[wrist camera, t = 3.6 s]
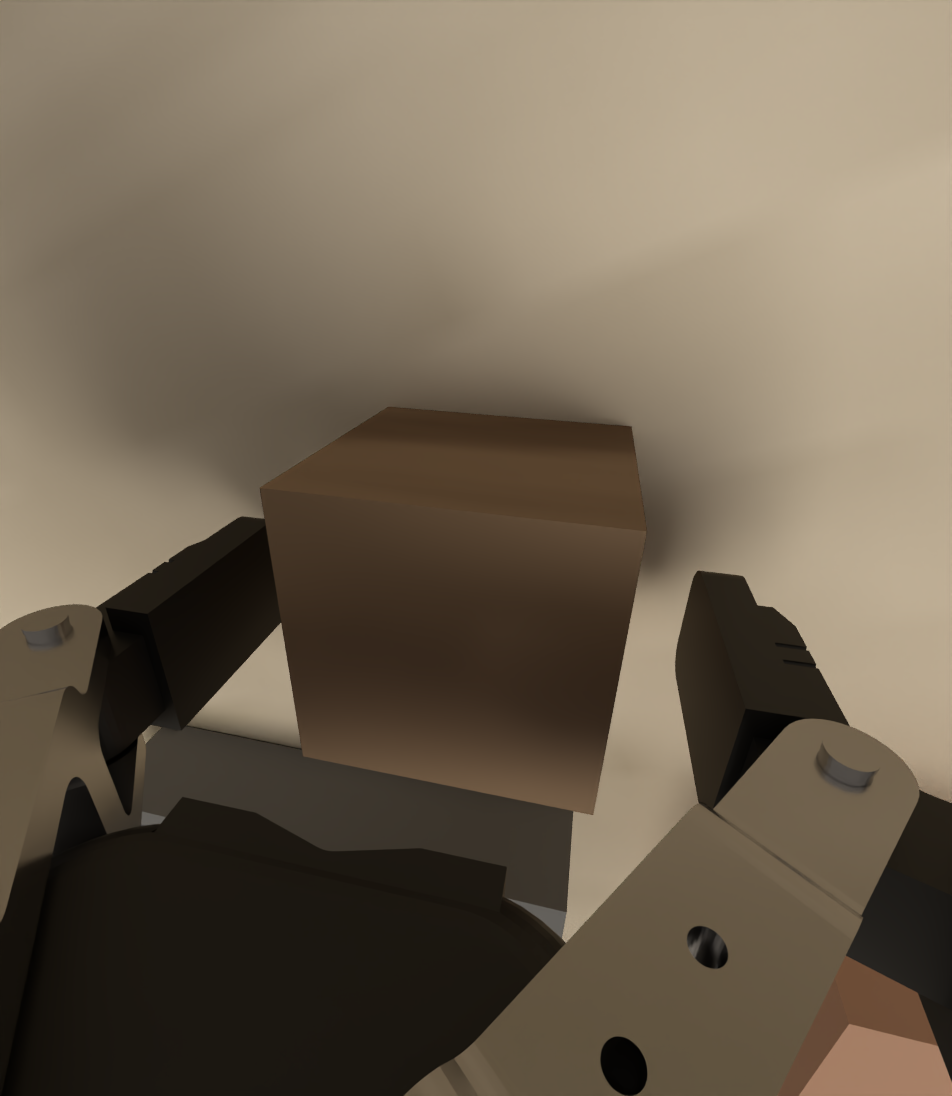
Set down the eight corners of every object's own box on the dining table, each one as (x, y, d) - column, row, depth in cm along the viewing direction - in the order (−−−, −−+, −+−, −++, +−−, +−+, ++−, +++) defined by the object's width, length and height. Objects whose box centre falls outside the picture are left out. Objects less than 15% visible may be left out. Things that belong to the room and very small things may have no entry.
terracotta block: (774, 790, 14) (849, 1023, 10) (997, 831, 13) (1188, 1108, 9) (727, 905, 16) (770, 1135, 12) (914, 946, 16) (1033, 1210, 11)
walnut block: (389, 405, 12) (259, 487, 7) (631, 425, 11) (647, 531, 6) (398, 603, 14) (302, 756, 10) (597, 633, 13) (592, 814, 9)
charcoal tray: (166, 722, 18) (91, 799, 15) (573, 804, 16) (566, 912, 13) (249, 992, 26) (209, 1074, 23) (528, 1073, 24) (518, 1174, 21)
